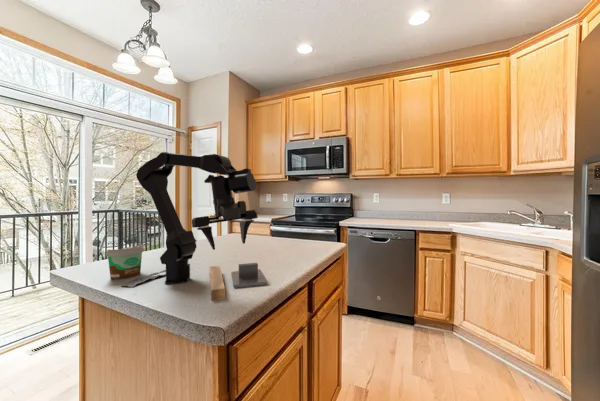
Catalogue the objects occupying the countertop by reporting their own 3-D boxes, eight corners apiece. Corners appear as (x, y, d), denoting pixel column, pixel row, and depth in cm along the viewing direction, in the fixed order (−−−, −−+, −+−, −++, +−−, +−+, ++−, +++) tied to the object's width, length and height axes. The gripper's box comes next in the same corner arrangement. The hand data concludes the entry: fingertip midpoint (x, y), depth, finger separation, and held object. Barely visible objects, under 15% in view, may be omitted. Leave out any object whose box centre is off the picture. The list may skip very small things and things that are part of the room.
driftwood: (129, 290, 77) (129, 283, 77) (114, 287, 79) (114, 280, 79) (184, 272, 96) (184, 266, 96) (171, 270, 98) (171, 264, 98)
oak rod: (211, 301, 68) (211, 290, 68) (209, 275, 91) (209, 266, 91) (224, 299, 70) (224, 288, 69) (219, 274, 92) (219, 265, 92)
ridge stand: (233, 288, 77) (233, 271, 77) (231, 274, 90) (231, 260, 90) (267, 284, 80) (267, 268, 80) (260, 272, 93) (260, 258, 93)
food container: (120, 282, 82) (120, 251, 82) (106, 280, 84) (105, 249, 84) (152, 271, 94) (152, 244, 94) (139, 270, 96) (139, 243, 96)
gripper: (195, 196, 68) (203, 255, 67) (261, 190, 78) (268, 242, 77) (188, 199, 77) (195, 252, 77) (248, 194, 87) (254, 240, 87)
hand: (229, 246), depth 79 cm, fingers open, 9 cm apart
